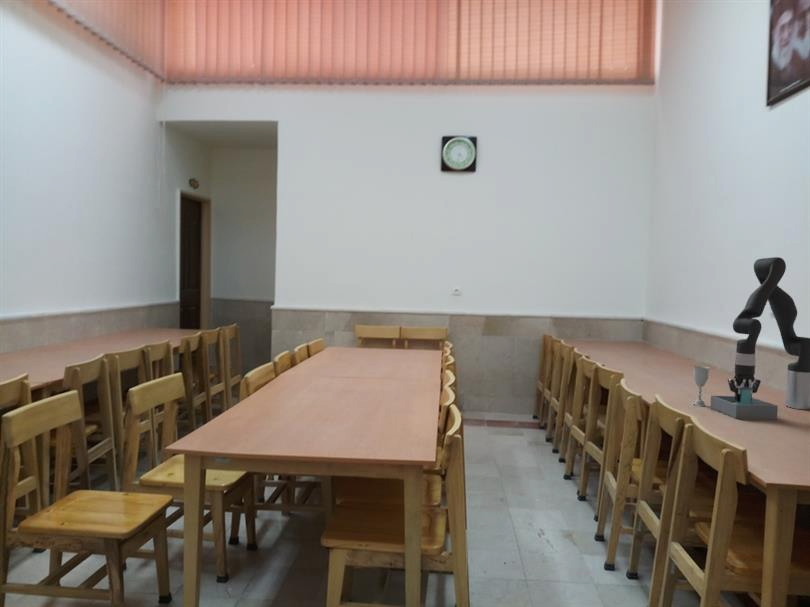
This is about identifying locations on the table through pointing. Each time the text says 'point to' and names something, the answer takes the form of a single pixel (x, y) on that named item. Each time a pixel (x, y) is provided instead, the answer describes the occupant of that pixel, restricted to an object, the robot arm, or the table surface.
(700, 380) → the chalice
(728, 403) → the walled box
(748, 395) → the peg
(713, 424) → the table surface
